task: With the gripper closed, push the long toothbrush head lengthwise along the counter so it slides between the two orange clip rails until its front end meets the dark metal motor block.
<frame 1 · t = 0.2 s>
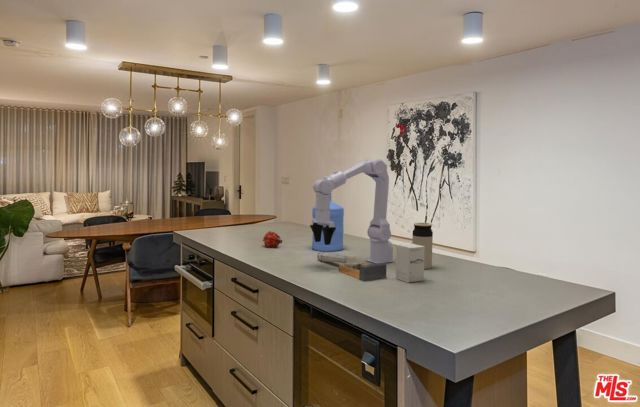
hand: (322, 243, 175), 10 cm above the counter, tool pointing down, fingers open, 7 cm apart
water jug: (327, 249, 217), on the counter
travel mug: (421, 267, 178), on the counter
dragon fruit: (272, 247, 222), on the counter
supplement box: (409, 280, 158), on the counter
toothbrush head: (337, 266, 180), on the counter
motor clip: (359, 273, 166), on the counter
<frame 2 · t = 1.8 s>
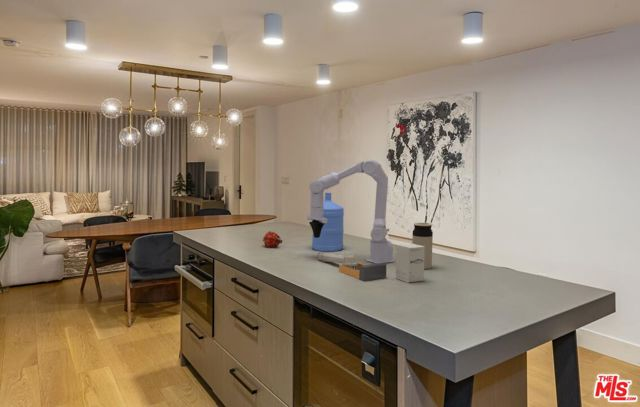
hand: (316, 237, 194), 9 cm above the counter, tool pointing down, fingers closed
nothing on the counter moved.
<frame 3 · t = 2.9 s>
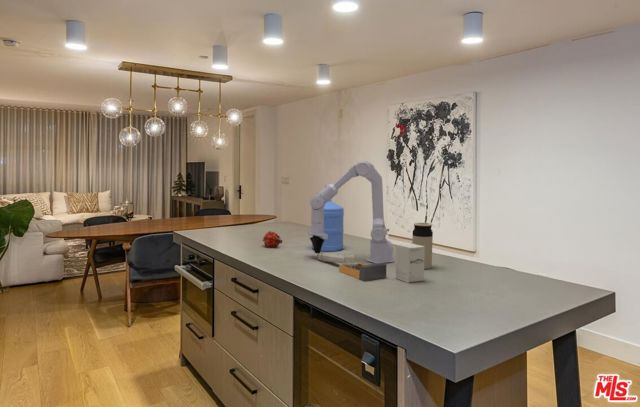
hand: (317, 253, 194), 2 cm above the counter, tool pointing down, fingers closed
nothing on the counter moved.
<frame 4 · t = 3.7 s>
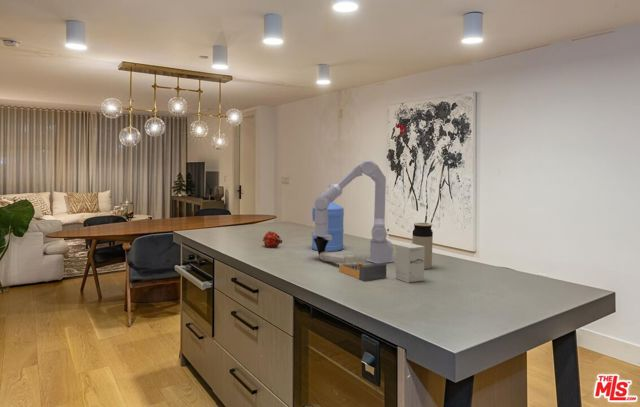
hand: (321, 254, 191), 2 cm above the counter, tool pointing down, fingers closed
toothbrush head: (337, 266, 179), on the counter, touching gripper
everything else where it was.
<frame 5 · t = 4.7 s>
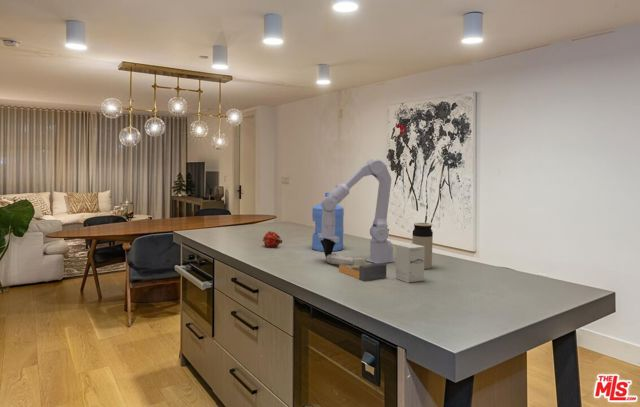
hand: (328, 256, 186), 2 cm above the counter, tool pointing down, fingers closed
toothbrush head: (345, 269, 174), on the counter, touching gripper
everything else where it was.
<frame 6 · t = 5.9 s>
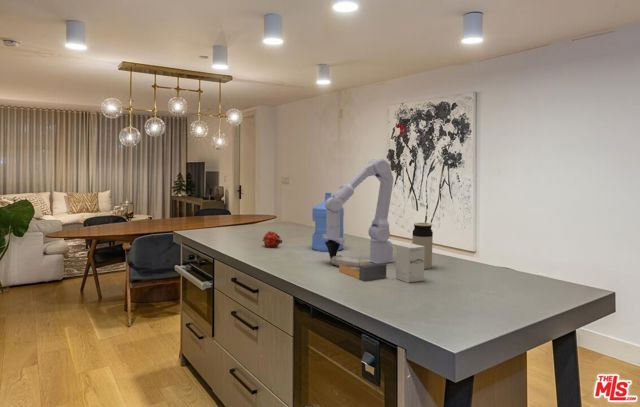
hand: (332, 258, 182), 2 cm above the counter, tool pointing down, fingers closed
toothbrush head: (350, 271, 171), on the counter, touching gripper, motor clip
everything else where it was.
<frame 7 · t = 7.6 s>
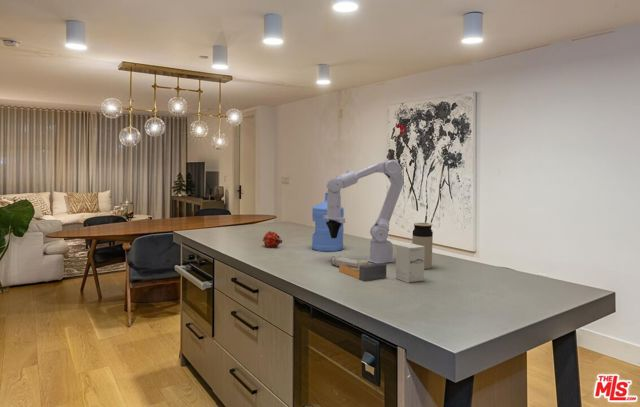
hand: (333, 238, 187), 10 cm above the counter, tool pointing down, fingers closed
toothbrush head: (350, 271, 171), on the counter
everything else where it was.
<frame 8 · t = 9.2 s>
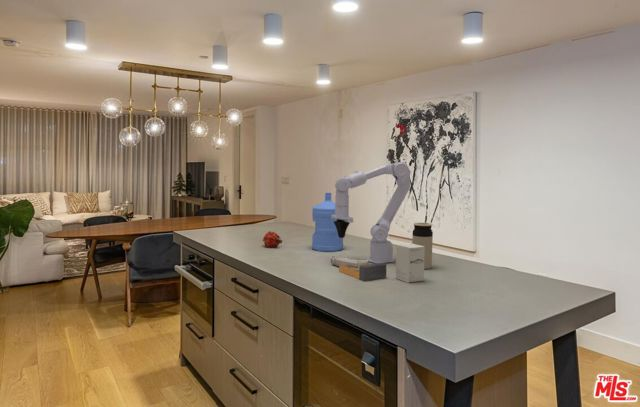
hand: (341, 237, 187), 10 cm above the counter, tool pointing down, fingers closed
nothing on the counter moved.
at the end: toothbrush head inside the target area (0.4 cm from its centre), on the counter; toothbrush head moved 10.2 cm from its start; the gripper is holding nothing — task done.
